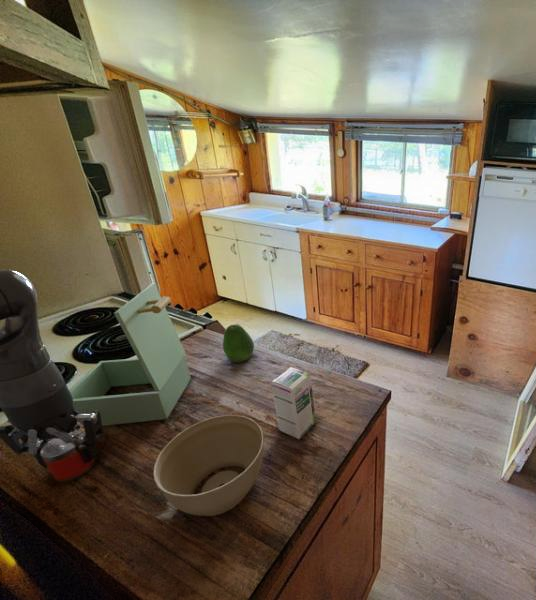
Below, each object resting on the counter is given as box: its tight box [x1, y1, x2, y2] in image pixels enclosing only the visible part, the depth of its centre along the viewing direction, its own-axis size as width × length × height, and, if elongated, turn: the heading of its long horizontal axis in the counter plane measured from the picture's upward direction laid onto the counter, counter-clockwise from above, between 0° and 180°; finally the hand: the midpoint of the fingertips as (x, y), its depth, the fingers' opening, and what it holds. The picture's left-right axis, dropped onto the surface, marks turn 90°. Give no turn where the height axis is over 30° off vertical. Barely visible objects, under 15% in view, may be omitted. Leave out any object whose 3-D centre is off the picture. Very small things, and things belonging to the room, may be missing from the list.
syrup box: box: [270, 366, 317, 440], centre depth 70 cm, size 6×6×14 cm
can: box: [40, 431, 96, 483], centre depth 60 cm, size 6×6×7 cm
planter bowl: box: [153, 414, 265, 517], centre depth 57 cm, size 16×16×11 cm
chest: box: [69, 354, 192, 427], centre depth 76 cm, size 19×15×8 cm
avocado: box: [222, 323, 255, 363], centre depth 93 cm, size 8×8×12 cm
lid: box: [113, 283, 186, 392], centre depth 72 cm, size 19×15×5 cm
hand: (71, 460), depth 60 cm, fingers closed on can, 5 cm apart
